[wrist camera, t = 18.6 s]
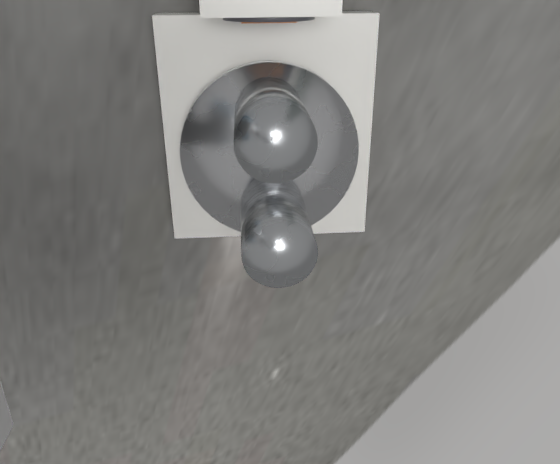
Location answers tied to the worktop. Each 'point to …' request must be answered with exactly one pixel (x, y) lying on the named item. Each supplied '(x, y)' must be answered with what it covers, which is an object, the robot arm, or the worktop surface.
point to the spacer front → (273, 131)
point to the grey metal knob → (276, 234)
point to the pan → (220, 143)
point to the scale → (261, 47)
